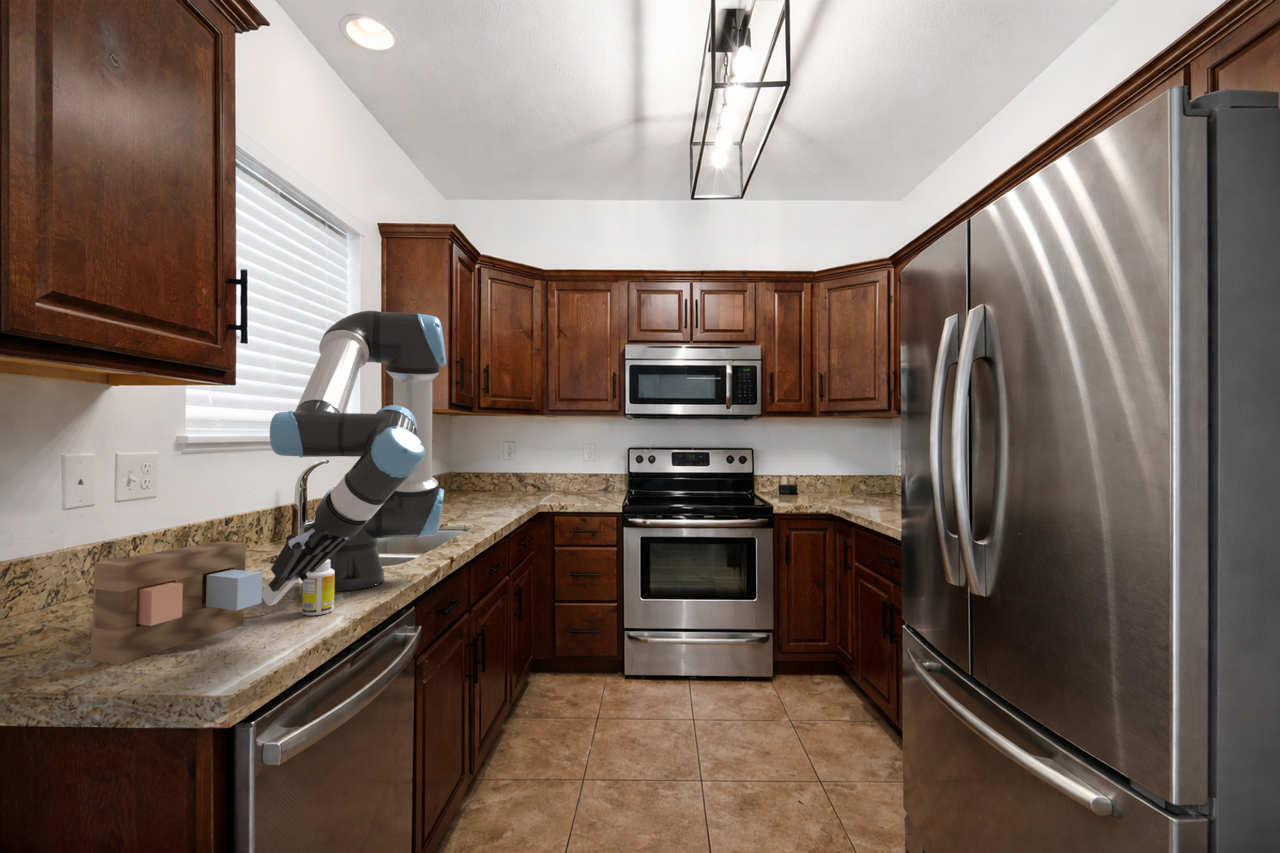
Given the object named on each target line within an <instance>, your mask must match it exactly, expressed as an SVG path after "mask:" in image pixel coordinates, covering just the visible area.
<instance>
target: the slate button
mask: <svg viewBox="0 0 1280 853" xmlns="http://www.w3.org/2000/svg"><path fill="white" fill-rule="evenodd" d="M263 573H264V572H262V571H252V570H245V571H243V570H228V571H224V572H219V573H215V574H210V575H207V585H206V607H213V608H222V609H230V610H240V609H243V608H244V609H246V608H250V607H253V606H257V605H259V604H262V603H263V597H262V596H261V595H260V593H261V592H262V591H263Z"/></svg>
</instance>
